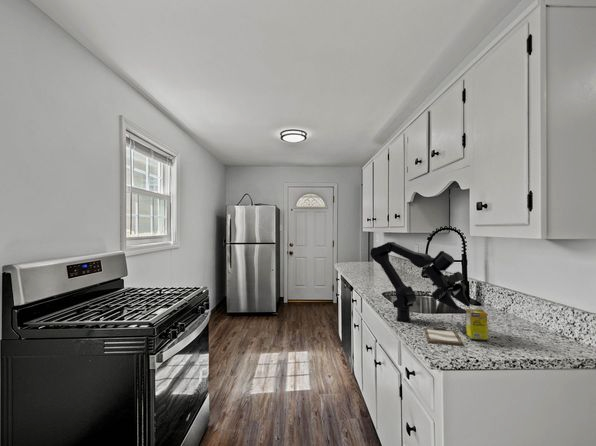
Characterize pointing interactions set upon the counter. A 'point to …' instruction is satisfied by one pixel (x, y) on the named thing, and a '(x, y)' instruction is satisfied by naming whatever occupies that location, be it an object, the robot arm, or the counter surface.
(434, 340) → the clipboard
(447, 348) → the counter surface
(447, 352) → the counter surface
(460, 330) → the dark grey rod
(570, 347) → the counter surface
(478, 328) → the supplement box
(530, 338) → the counter surface
